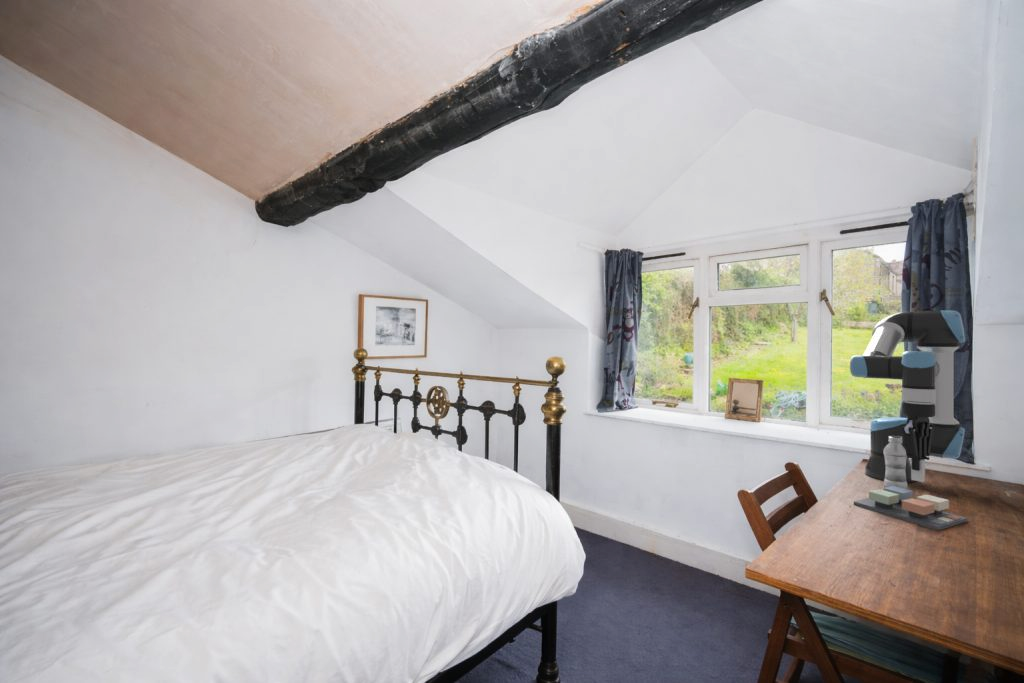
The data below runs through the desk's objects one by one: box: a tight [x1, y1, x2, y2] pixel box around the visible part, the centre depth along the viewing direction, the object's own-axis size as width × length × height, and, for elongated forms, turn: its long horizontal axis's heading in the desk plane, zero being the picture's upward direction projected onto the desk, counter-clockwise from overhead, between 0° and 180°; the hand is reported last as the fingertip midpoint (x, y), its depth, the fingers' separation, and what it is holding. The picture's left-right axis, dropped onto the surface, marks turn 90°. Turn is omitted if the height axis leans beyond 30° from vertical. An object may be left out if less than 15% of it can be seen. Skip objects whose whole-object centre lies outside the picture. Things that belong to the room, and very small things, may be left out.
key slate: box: [883, 486, 914, 501], centre depth 148 cm, size 6×6×2 cm
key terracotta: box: [902, 497, 934, 515], centre depth 136 cm, size 6×6×2 cm
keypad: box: [853, 497, 968, 531], centre depth 142 cm, size 16×22×3 cm
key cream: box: [916, 494, 950, 511], centre depth 139 cm, size 6×6×2 cm
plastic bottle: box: [882, 436, 909, 490], centre depth 159 cm, size 6×7×20 cm
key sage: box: [868, 488, 899, 505], centre depth 145 cm, size 6×6×2 cm
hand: (918, 480), depth 136 cm, fingers closed
